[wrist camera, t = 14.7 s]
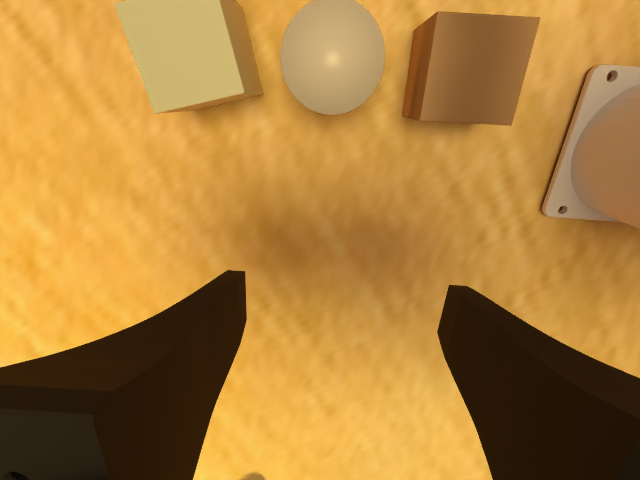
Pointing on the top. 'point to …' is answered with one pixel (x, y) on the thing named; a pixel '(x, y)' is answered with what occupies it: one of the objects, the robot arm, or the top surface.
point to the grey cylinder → (332, 56)
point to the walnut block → (468, 67)
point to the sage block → (190, 52)
